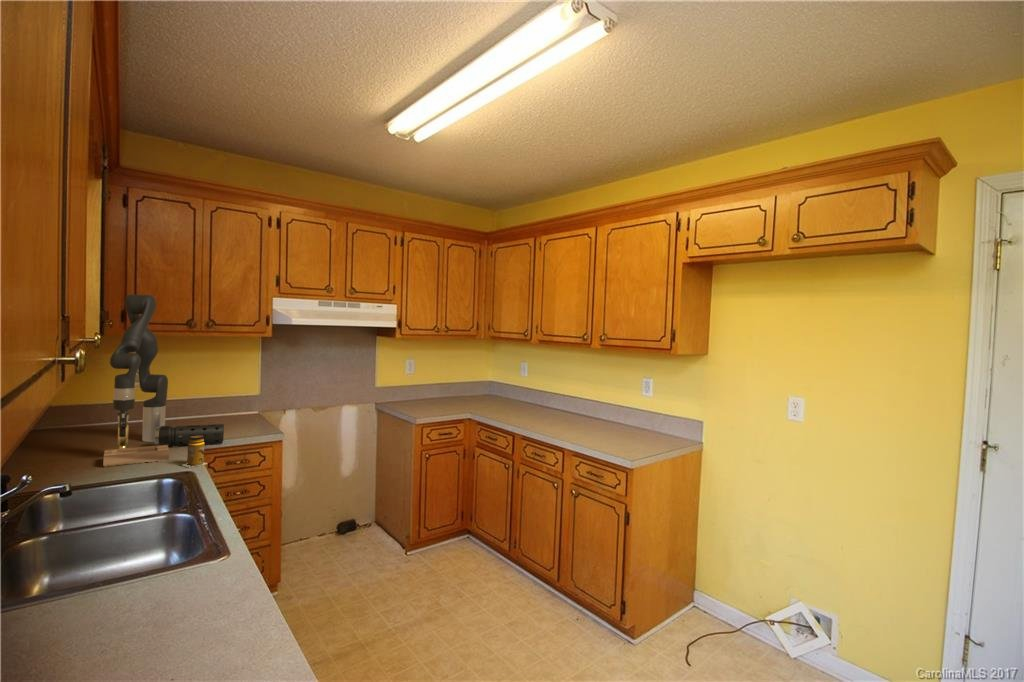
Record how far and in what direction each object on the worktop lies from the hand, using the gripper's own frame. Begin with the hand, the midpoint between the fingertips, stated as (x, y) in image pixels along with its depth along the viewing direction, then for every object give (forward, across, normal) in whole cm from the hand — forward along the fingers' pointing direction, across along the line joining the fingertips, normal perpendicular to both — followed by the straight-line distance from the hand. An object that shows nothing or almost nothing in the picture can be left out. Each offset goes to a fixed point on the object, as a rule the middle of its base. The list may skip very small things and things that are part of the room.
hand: (122, 434), depth 216 cm
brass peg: (+10, 0, 0) cm, 10 cm away
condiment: (+10, +27, +24) cm, 38 cm away
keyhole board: (+10, +10, +5) cm, 15 cm away
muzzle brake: (+10, -11, +26) cm, 30 cm away
